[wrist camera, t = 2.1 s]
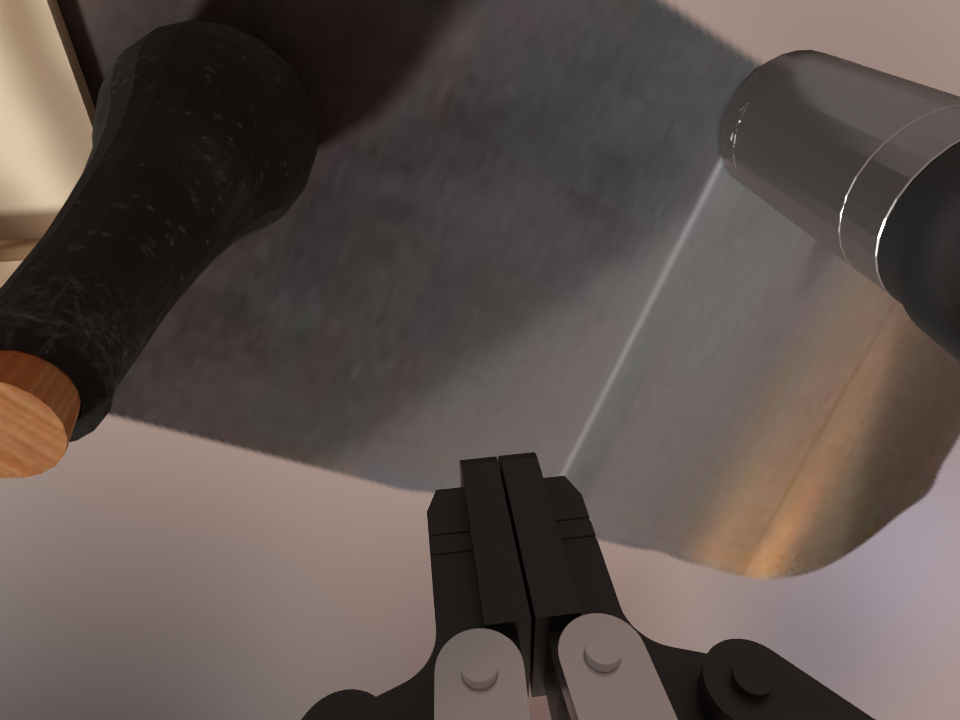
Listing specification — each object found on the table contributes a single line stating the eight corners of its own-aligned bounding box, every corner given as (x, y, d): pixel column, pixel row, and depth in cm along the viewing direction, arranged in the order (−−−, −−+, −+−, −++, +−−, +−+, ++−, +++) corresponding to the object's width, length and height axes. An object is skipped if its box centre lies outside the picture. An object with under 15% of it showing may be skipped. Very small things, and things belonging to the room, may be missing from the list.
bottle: (223, -37, 35) (-139, 82, 11) (359, 119, 40) (329, 435, 16) (100, 93, 38) (-411, 425, 13) (243, 222, 43) (67, 625, 19)
